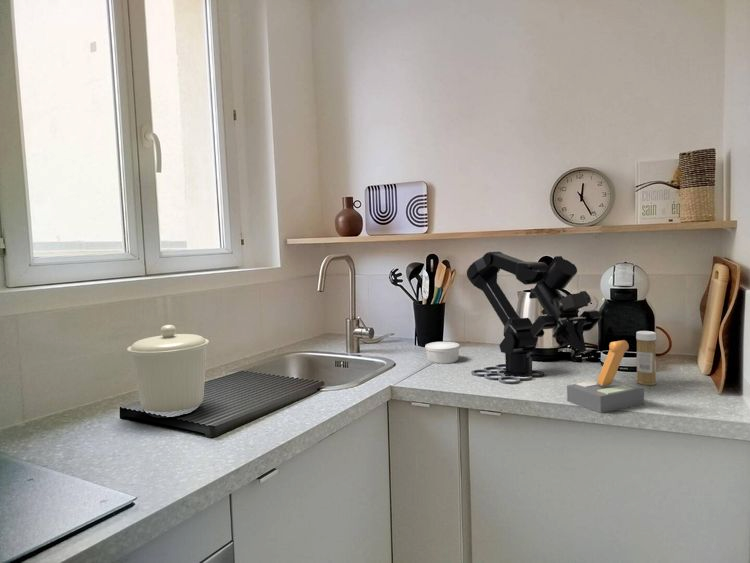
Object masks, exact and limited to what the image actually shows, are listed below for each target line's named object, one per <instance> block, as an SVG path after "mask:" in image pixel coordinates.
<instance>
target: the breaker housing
mask: <svg viewBox="0 0 750 563" xmlns="http://www.w3.org/2000/svg"><path fill="white" fill-rule="evenodd" d="M566 401H567V402H569V403H571V404H573V405H577V406H580V407H583V408H585V409H589V410H591V411H593V412H597V413H599V414H603V413H607V412H612V411H617V410H622V409H628V408H632V407H631V406H633V407H637V406H642V405H645V388H644V387H641V386H638V385H633V384H630V383H627V382H624V381H619V380H616V379H613V382H612V384H610V385H606V386H600V387H599V386H598V385H597V379H594V380H587V381H583V382H577V383H573V384H568V385H566ZM641 404H642V405H641ZM636 405H637V406H636ZM627 407H628V408H627Z"/></svg>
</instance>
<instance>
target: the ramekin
mask: <svg viewBox="0 0 750 563" xmlns="http://www.w3.org/2000/svg"><path fill="white" fill-rule="evenodd" d="M424 347H425V350H426V351H425V352H426V355H427V359H428V362H431V363H433V364H439V365H441V364H453V363H455V362H457V361H458V360H459V354H460V348H461V345H460V343H457V342H453V341H434V342H433V341H432V342H429V343H426V344H425V346H424Z"/></svg>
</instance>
